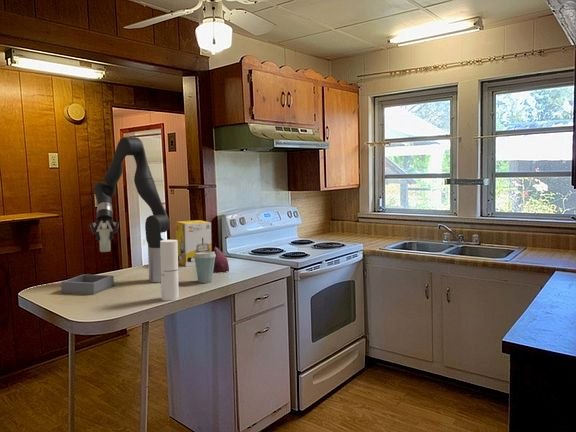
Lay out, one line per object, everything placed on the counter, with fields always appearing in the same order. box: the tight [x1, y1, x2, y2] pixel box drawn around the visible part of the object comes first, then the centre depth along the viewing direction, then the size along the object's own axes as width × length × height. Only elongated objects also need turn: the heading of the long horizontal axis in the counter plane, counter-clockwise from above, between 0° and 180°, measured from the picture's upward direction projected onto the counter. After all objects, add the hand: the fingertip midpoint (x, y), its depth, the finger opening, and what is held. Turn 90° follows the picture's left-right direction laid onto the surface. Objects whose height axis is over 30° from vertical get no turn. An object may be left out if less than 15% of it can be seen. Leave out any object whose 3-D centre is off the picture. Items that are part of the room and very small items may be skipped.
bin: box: [60, 273, 115, 295], centre depth 208 cm, size 16×16×5 cm
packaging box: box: [174, 219, 213, 268], centre depth 271 cm, size 16×16×25 cm
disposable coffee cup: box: [194, 251, 216, 284], centre depth 223 cm, size 11×11×15 cm
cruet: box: [98, 223, 112, 253], centre depth 222 cm, size 5×5×14 cm
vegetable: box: [213, 246, 230, 274], centre depth 249 cm, size 10×10×15 cm
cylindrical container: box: [160, 239, 180, 302], centre depth 192 cm, size 7×7×25 cm
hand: (104, 239), depth 221 cm, fingers closed on cruet, 5 cm apart
